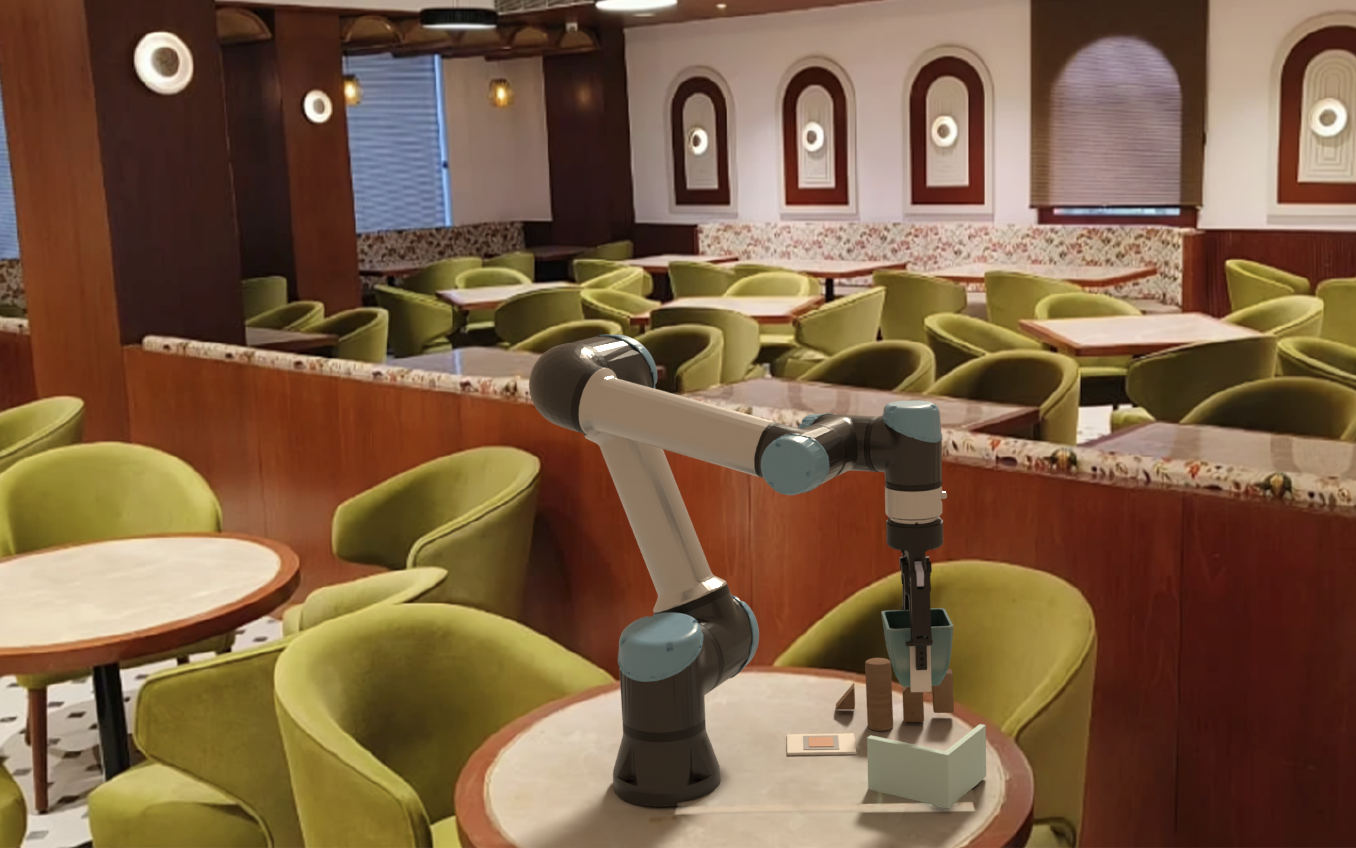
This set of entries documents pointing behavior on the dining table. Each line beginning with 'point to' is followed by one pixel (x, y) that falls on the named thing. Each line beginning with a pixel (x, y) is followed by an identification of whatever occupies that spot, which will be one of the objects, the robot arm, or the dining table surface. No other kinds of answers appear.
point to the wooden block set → (882, 697)
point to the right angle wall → (927, 768)
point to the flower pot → (899, 633)
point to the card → (821, 744)
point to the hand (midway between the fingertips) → (917, 679)
